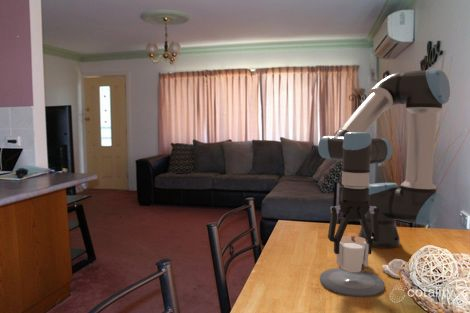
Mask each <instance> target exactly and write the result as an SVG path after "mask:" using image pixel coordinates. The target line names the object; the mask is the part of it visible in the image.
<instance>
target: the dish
mask: <svg viewBox="0 0 470 313" xmlns="http://www.w3.org/2000/svg"><path fill="white" fill-rule="evenodd" d="M319 283H320V284H321V285H322V286H323V287H324V288H326V289H327V290H329V291H331V292H333V293H336V294H339V295H342V296H348V297H356V298H365V297H366V298H367V297H374V296H377V295H380V294H382V293H383V292H384V290H385V281H384V280H383V279H382V277H379V276H378V275H376V274H374V273H372V272H370V271H366V270H362V269H361V271H360V272H348V271H345V270H343V269H342V268H341V267H337V268H331V269H330V268H329V269H326V270H325V271H322V272H321V273H320V275H319Z"/></svg>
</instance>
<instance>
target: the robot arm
mask: <svg viewBox="0 0 470 313" xmlns="http://www.w3.org/2000/svg"><path fill="white" fill-rule="evenodd" d="M450 96H451V86H450V82H449V78H448V76H447V74H446V73H445V72H444V70H442V69H422V70H411V71H399V72H395V73H391V74H390V75H388V76H386V77H385V78H383V79H381V80H380V81H378V82H377V83H376V84H375V85H373V87H372V88H371V89H370V90H369V91H368V92H367V95H366V99H364V101H363V102H362V103H361V104H359V106H358V107H357V108H356V110H355V111H354V112H352V113H351V115H350V116H349V117H348V118H347V119H346V120H345V121H344V123H343V124H341V126H340V127H339V128H338V130H337V131H335V132H334V133H333V135H324V136H322V137H321V138H320V139H319V142H318V145H317V149H318V150H317V152H318V154H319V156H320V157H321V158H322V159H327V160H332V161H342V167H341V168H342V169H341V170H342V171H341V185H342V186H341V187H340V188H341V192H340V193H341V194H340V203H339V204H338V205H335V206H333V205H329V210H330V218H329V226H328V233H327V239H328V240H329V242H333V252H334V254H335V255H336V264H337V265H338V267H341V266H342V247H343V244H342V243H341V242H340V241H341V239H342V236H344V233H345V231H346V229H347V226H348V223H350V220H354V219H355V220H359V223H360V230H359V232H358V236H357V237H362V238H365V239H366V242H365V241H363V245H364V246H365V251H364V256H363V262H362V265H363V266H364V267H369V264H368V263H369V255H371V254H372V253H373V252H372V250H373V248H377V249H394V248H398V247H399V246H400V245H401V244H400V242H401V238H400V235H399V232H398V228H397V223H396V220H399V221H403V222H408V223H413V224H416V225H424V226H430V225H432V224H434V223H435V222H436V220H437V219H438V217H439V215H440V213H441V209H442V206H443V199H442V198H443V197H442V195H441V193H439V192H437V186H436V185H435V184H434V183H433V170H434V158H435V157H434V156H435V145H436V144H435V143H436V130H437V127H436V126H437V115H438V114H439V112H440V111H442V110H443V105H445V104H447V103H448V102H449V100H450ZM396 105H405V110H406V111H407V112H408V113H409V124H408V137H407V138H408V139H407V151H406V152H407V153H406V166H405V180H404V181H403V182H401V184H400V186H399V184H398V183H396V182H377V183H376V182H375V183H370V174H371V173H370V171H371V165H373V164H382V163H384V162H387V161H388V160H389V159H391V157H392V155H393V150H394V149H393V145H392V144H391V142H390V141H389V140H388V139H386V138H385V137H384V138H383V137H374V138H372V135H371V133H370V132H368V131H369V129H370V128H371V126H373V125H374V123H375V122H376V121H377V120H378V118H380V117H381V115H382V114H383V113H384V112H385V111H388V110H390V109H391V107H392V106H396ZM340 211H341V213H342V215H341V221H340V222H339V224H338V225H339V226H338V228H337V220H338V214H340ZM336 228H337V230H336Z"/></svg>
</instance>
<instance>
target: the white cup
mask: <svg viewBox="0 0 470 313" xmlns="http://www.w3.org/2000/svg"><path fill="white" fill-rule="evenodd" d="M342 244H343V247H342V266H340V268H342V269H343V270H345V271H348V272H360V271H361V270H362V265H363V264H362V262H363V256H364V251H365V246H364V245H362V244H359V243H354V242H343V243H342Z"/></svg>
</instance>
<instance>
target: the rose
mask: <svg viewBox="0 0 470 313" xmlns="http://www.w3.org/2000/svg"><path fill="white" fill-rule="evenodd" d="M406 262H407V261H405V260H403V259H400V258H399V259H398V258H394V259H392V260H391V261H390V262H388V264H383V265H382V267H381V269H382V270H383V272H384V273H385V274H386V273H387V274H386V275H388V274H389V276H390V275H391V276H390V277H392V278H394V277H395V278H394V279H397V278H399V275H398V271H399V269H400V268H401V267H402V266H403V265H404V264H405V263H406Z"/></svg>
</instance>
